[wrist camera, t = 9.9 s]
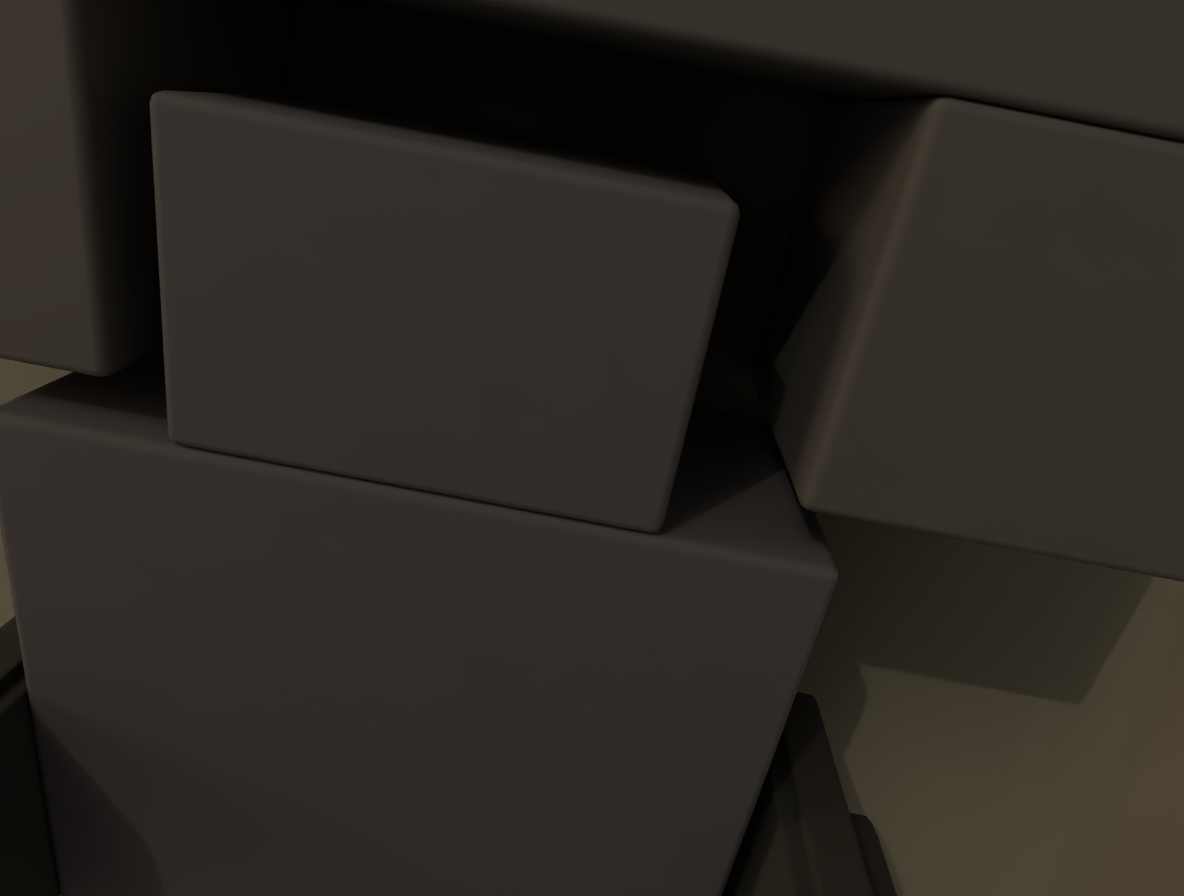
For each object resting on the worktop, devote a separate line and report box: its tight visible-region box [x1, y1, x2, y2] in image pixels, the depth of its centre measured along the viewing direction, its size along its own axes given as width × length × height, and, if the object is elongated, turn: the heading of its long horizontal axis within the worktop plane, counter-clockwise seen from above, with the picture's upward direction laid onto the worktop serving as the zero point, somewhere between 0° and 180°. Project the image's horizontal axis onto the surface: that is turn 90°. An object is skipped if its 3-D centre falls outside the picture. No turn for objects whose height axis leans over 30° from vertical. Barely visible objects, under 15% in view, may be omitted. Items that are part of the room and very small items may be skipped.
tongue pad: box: [0, 90, 839, 896], centre depth 9 cm, size 7×12×3 cm, turn 170°
